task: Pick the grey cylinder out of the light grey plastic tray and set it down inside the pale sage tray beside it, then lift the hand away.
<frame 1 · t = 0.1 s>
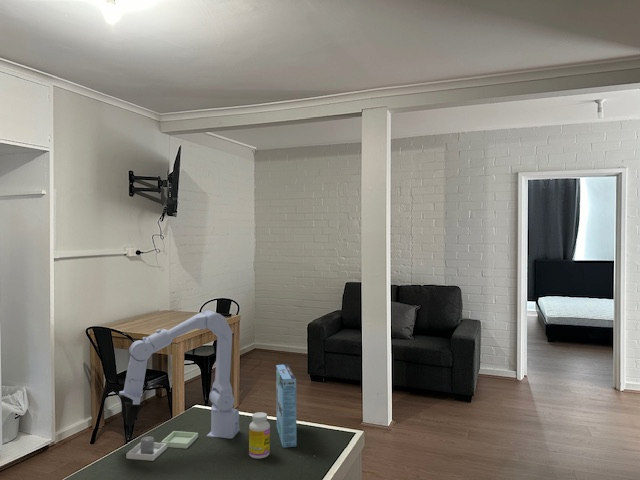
hand: (127, 420, 154), 11 cm above the table, tool pointing down, fingers open, 7 cm apart
light blue carton: (285, 436, 169), on the table
grey tray: (147, 454, 153), on the table
grey cylinder: (147, 453, 153), resting on grey tray
sage tray: (180, 443, 162), on the table
supplement bottle: (259, 455, 154), on the table
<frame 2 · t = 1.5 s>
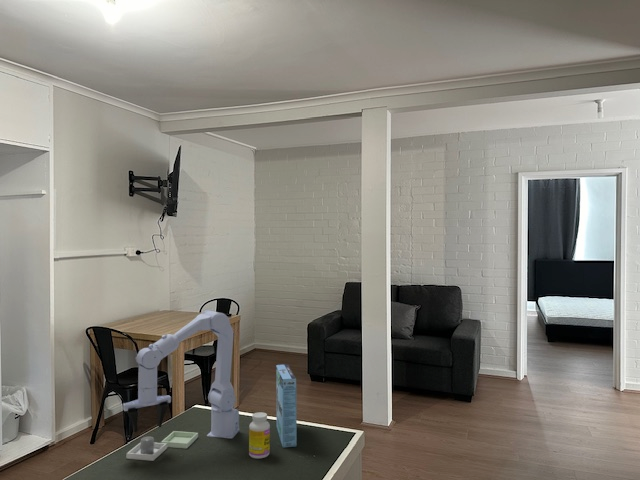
hand: (147, 428, 153), 8 cm above the table, tool pointing down, fingers open, 7 cm apart
nothing on the table moved.
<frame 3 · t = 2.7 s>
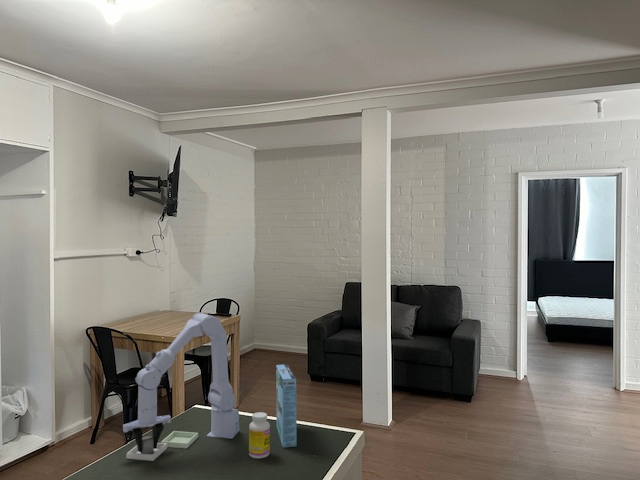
hand: (147, 449, 153), 2 cm above the table, tool pointing down, fingers closed on grey cylinder, 4 cm apart
grey cylinder: (147, 453, 153), resting on grey tray, touching gripper
everything else where it was.
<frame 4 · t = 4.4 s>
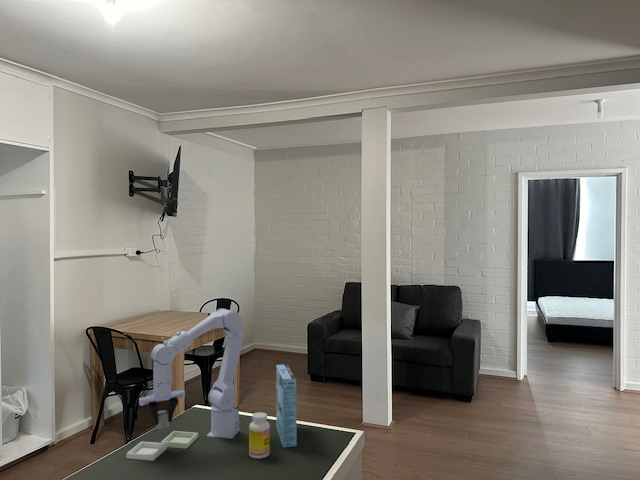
hand: (162, 422, 157), 9 cm above the table, tool pointing down, fingers closed on grey cylinder, 4 cm apart
grey cylinder: (162, 426, 157), point 7 cm above the table, touching gripper
everything else where it was.
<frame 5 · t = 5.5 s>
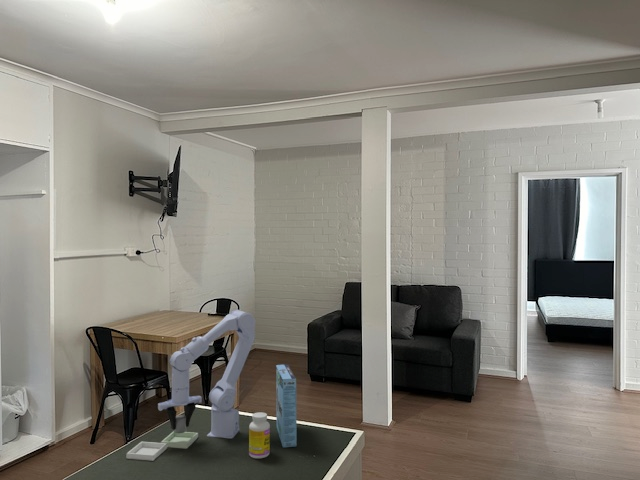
hand: (180, 427, 162), 5 cm above the table, tool pointing down, fingers closed on grey cylinder, 4 cm apart
grey cylinder: (180, 431, 162), point 4 cm above the table, touching gripper
everything else where it was.
when the fingers open (3 cm above the table, at t = 6.3 s): grey cylinder drops 2 cm, resting on sage tray.
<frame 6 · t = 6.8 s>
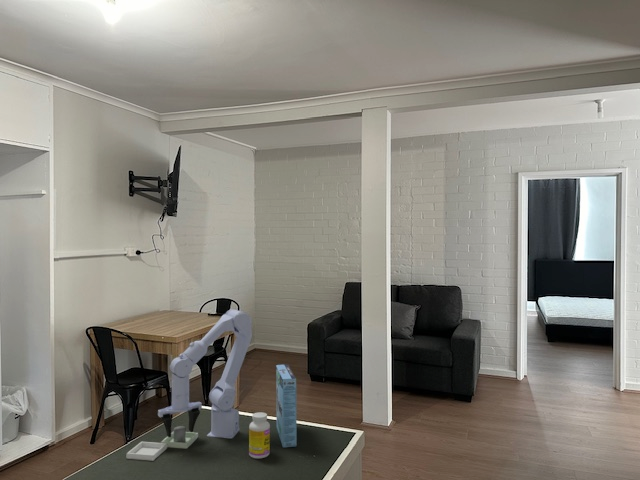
hand: (180, 433, 162), 3 cm above the table, tool pointing down, fingers open, 7 cm apart
grey cylinder: (179, 441, 162), resting on sage tray
everything else where it was.
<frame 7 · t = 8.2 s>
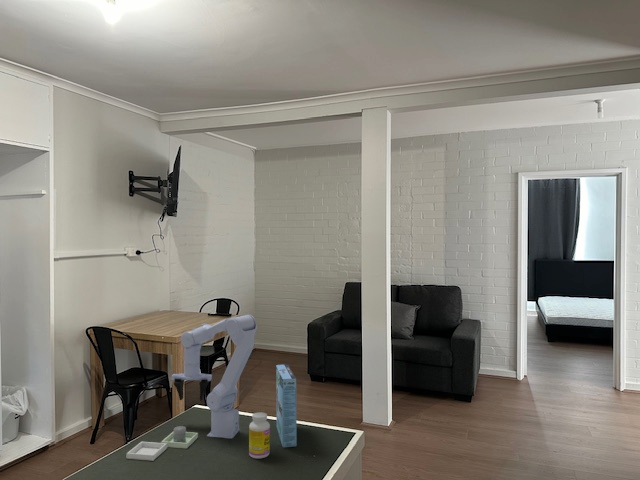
hand: (191, 399, 178), 9 cm above the table, tool pointing down, fingers open, 7 cm apart
nothing on the table moved.
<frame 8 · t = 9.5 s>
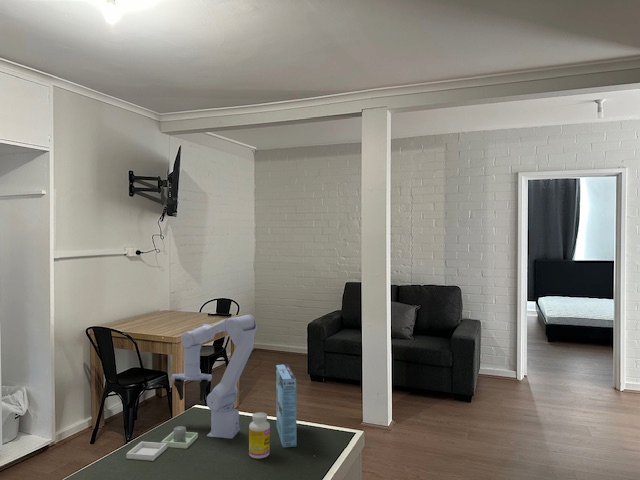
hand: (191, 399, 178), 9 cm above the table, tool pointing down, fingers open, 7 cm apart
nothing on the table moved.
at the end: grey cylinder 0.1 cm off-centre on the sage tray, point 0.4 cm above the sage tray's base; the gripper is holding nothing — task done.
